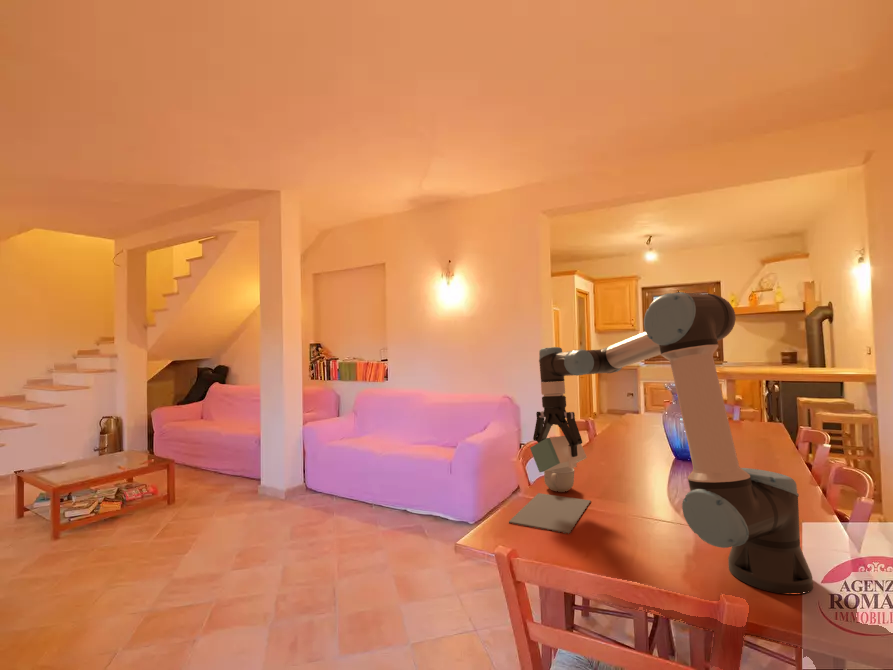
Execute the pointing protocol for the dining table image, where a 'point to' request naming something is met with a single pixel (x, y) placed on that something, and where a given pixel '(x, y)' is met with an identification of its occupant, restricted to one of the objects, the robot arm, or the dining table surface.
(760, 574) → the robot arm
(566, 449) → the green and white block
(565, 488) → the teacup
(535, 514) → the rubber mat
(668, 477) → the dining table surface
